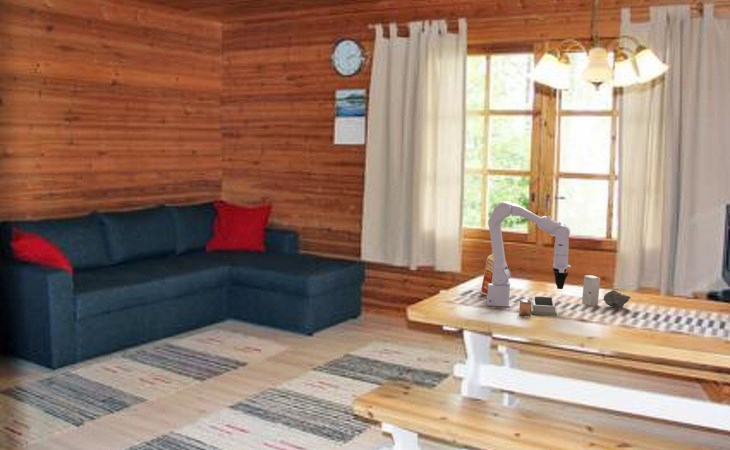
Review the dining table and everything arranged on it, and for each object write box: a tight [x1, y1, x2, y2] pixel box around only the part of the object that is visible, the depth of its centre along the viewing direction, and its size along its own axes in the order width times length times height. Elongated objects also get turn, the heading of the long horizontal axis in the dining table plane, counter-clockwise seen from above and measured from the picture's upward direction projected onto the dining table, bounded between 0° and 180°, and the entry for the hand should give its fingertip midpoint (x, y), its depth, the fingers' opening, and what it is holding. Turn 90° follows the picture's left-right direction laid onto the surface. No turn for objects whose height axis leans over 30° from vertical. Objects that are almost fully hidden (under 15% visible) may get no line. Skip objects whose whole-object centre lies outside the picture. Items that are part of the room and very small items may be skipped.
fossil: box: [603, 289, 631, 309], centre depth 297 cm, size 11×9×8 cm
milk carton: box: [480, 252, 494, 297], centre depth 319 cm, size 9×9×20 cm
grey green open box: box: [531, 295, 558, 316], centre depth 290 cm, size 10×11×5 cm
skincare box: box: [581, 274, 601, 306], centre depth 304 cm, size 6×4×12 cm
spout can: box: [518, 298, 533, 317], centre depth 283 cm, size 5×5×6 cm
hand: (559, 287), depth 291 cm, fingers open, 7 cm apart
